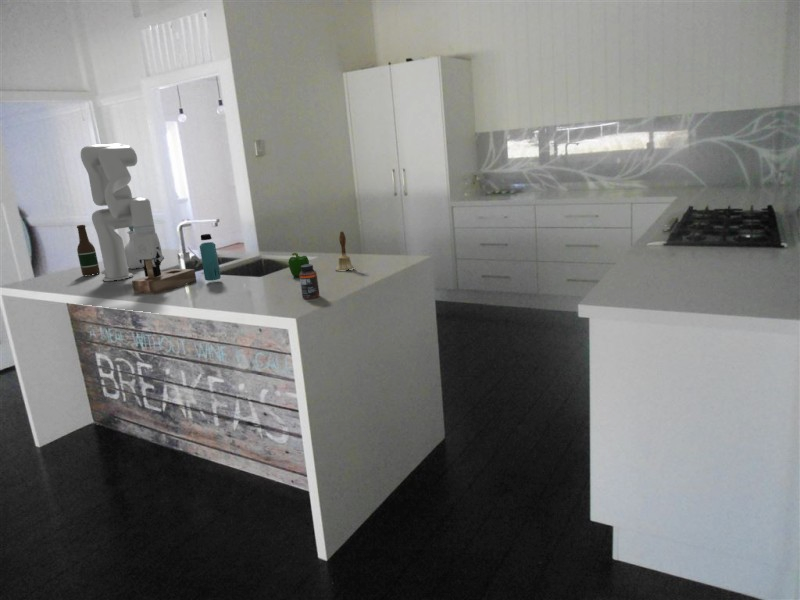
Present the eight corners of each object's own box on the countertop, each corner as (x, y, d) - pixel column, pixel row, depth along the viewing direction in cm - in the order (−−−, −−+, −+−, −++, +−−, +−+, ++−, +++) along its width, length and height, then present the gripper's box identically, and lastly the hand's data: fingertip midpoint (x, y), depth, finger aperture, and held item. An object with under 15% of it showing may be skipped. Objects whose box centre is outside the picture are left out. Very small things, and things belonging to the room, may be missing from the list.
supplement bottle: (314, 294, 213) (310, 262, 211) (322, 296, 209) (319, 264, 206) (299, 297, 210) (295, 265, 207) (307, 300, 205) (303, 267, 202)
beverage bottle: (217, 284, 245) (209, 235, 240) (202, 284, 246) (194, 235, 241) (224, 280, 251) (217, 232, 246) (210, 280, 252) (202, 233, 247)
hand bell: (356, 266, 256) (352, 229, 252) (354, 270, 248) (350, 232, 244) (336, 268, 257) (332, 230, 253) (334, 272, 249) (329, 233, 245)
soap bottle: (146, 264, 307) (138, 219, 301) (151, 267, 299) (142, 221, 293) (126, 268, 301) (117, 222, 296) (130, 270, 294) (121, 223, 288)
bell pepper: (305, 272, 252) (302, 249, 250) (313, 275, 246) (310, 251, 243) (286, 276, 248) (283, 252, 246) (294, 279, 241) (291, 254, 239)
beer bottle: (89, 276, 286) (78, 226, 280) (78, 276, 289) (67, 226, 283) (103, 273, 292) (93, 223, 286) (93, 272, 296) (82, 224, 290)
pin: (147, 284, 241) (141, 255, 238) (155, 282, 245) (149, 253, 242) (154, 284, 239) (149, 255, 236) (162, 282, 243) (156, 253, 240)
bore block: (134, 293, 240) (131, 280, 239) (174, 280, 260) (172, 268, 258) (156, 293, 235) (154, 281, 234) (196, 280, 255) (194, 269, 253)
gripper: (121, 232, 237) (130, 277, 241) (153, 231, 230) (161, 278, 234) (136, 229, 243) (145, 273, 248) (167, 228, 236) (176, 274, 241)
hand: (153, 275), depth 241 cm, fingers closed on pin, 4 cm apart
